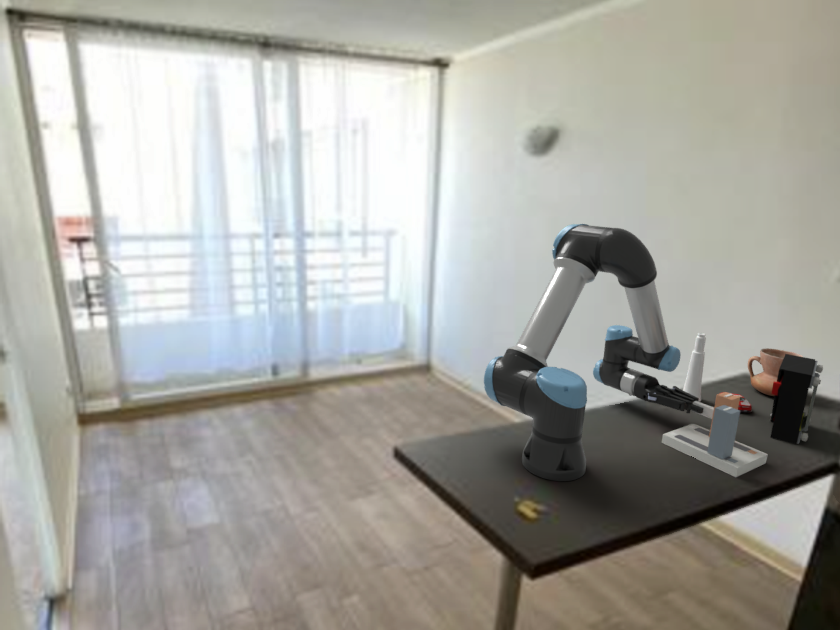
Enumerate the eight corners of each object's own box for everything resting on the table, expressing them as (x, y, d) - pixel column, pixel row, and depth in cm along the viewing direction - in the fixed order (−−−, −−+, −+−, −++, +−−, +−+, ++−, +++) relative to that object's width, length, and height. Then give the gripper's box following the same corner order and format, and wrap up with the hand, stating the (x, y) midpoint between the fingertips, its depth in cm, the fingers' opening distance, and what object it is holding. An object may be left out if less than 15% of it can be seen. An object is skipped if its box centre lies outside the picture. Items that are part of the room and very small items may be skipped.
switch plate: (661, 442, 150) (662, 433, 149) (692, 431, 157) (693, 423, 157) (735, 477, 134) (737, 467, 133) (765, 463, 141) (767, 453, 140)
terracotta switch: (708, 436, 148) (716, 393, 145) (717, 433, 150) (725, 391, 147) (723, 442, 145) (731, 399, 142) (732, 439, 147) (740, 396, 144)
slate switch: (707, 452, 140) (715, 407, 137) (716, 448, 142) (724, 404, 139) (722, 459, 136) (731, 413, 133) (731, 455, 139) (740, 409, 136)
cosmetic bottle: (679, 399, 180) (690, 334, 174) (681, 393, 185) (692, 330, 179) (700, 404, 177) (711, 337, 171) (701, 398, 182) (712, 333, 177)
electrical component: (805, 446, 151) (821, 377, 146) (762, 435, 157) (776, 368, 152) (809, 425, 164) (824, 361, 159) (769, 415, 170) (782, 353, 165)
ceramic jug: (811, 397, 186) (819, 356, 183) (793, 405, 178) (801, 363, 175) (754, 381, 200) (760, 343, 197) (734, 388, 192) (741, 349, 189)
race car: (714, 397, 184) (716, 386, 183) (731, 398, 184) (733, 387, 183) (735, 414, 171) (737, 402, 170) (753, 415, 171) (755, 403, 170)
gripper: (651, 393, 172) (727, 422, 153) (624, 401, 165) (700, 433, 146) (655, 370, 170) (732, 397, 151) (628, 377, 163) (705, 406, 144)
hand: (716, 414), depth 148 cm, fingers closed
